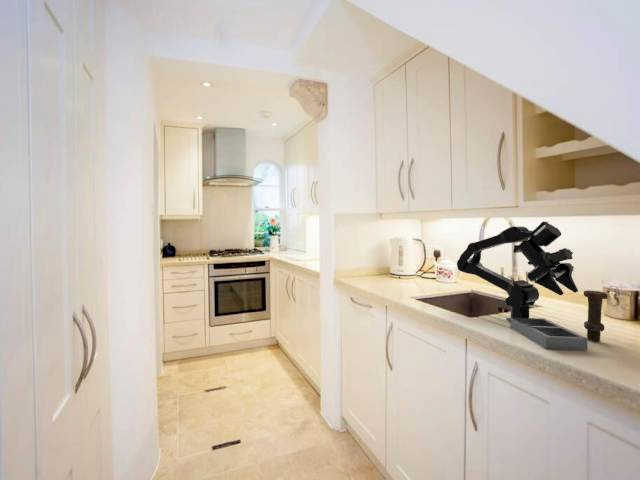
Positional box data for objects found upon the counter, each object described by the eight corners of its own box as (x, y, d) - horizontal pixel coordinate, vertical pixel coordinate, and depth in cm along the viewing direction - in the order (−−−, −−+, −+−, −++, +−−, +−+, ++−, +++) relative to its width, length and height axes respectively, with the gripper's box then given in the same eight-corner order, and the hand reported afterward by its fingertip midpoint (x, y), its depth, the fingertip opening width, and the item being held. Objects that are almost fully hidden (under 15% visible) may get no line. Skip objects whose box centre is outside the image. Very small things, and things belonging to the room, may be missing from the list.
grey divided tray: (510, 327, 112) (510, 317, 112) (544, 328, 111) (544, 318, 111) (545, 349, 92) (546, 337, 92) (587, 350, 91) (587, 338, 91)
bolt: (595, 337, 102) (597, 290, 101) (610, 343, 97) (612, 293, 96) (577, 337, 102) (579, 290, 101) (591, 343, 97) (593, 293, 96)
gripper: (539, 240, 103) (577, 281, 94) (569, 239, 112) (606, 276, 103) (513, 261, 111) (546, 301, 102) (542, 259, 120) (575, 295, 111)
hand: (569, 293), depth 104 cm, fingers open, 9 cm apart
